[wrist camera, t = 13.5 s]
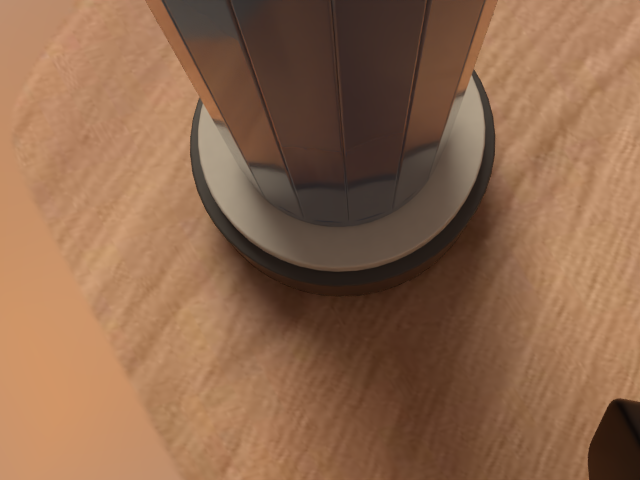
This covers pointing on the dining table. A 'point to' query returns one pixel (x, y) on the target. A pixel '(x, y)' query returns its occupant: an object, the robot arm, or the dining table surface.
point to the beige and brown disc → (351, 241)
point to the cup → (330, 93)
